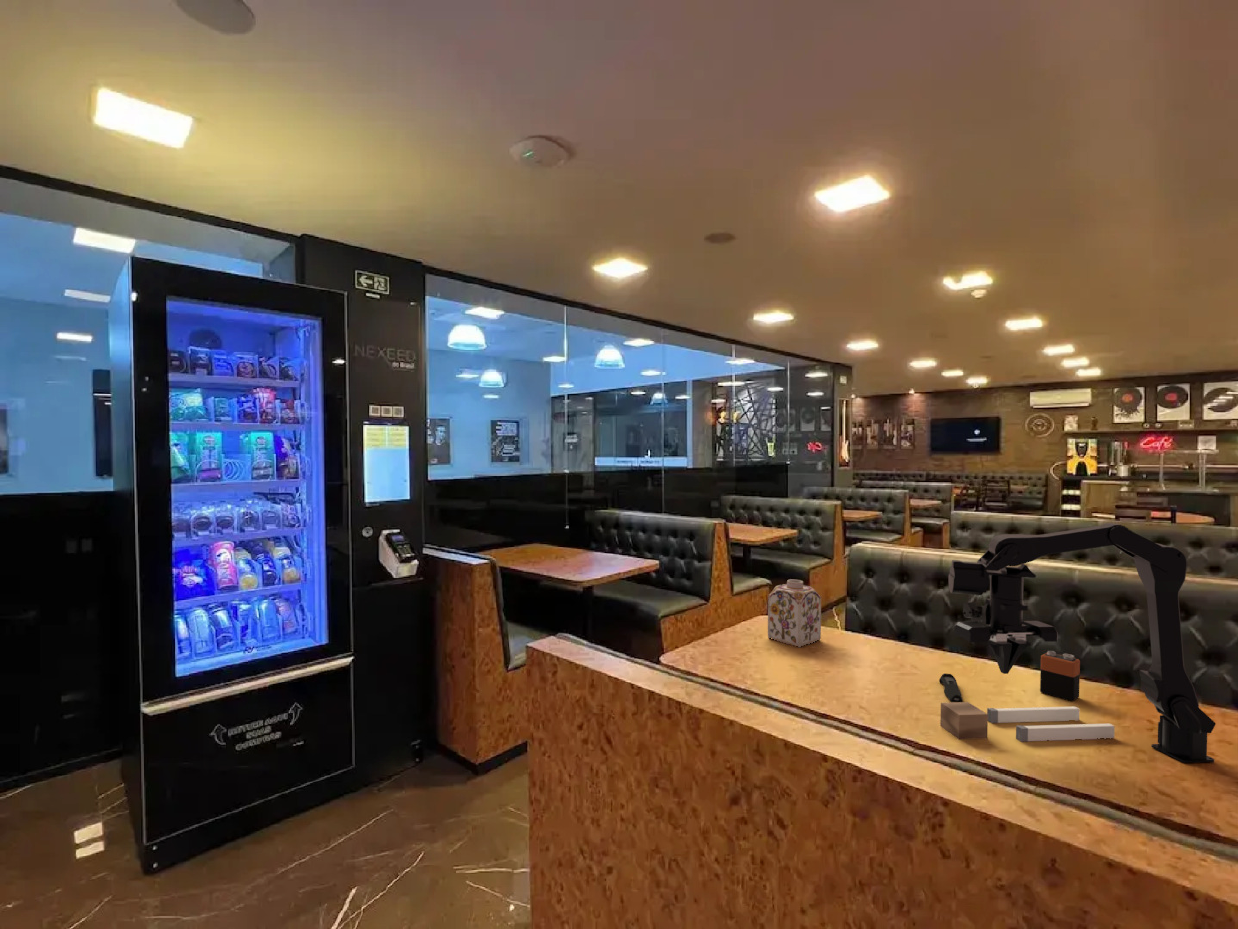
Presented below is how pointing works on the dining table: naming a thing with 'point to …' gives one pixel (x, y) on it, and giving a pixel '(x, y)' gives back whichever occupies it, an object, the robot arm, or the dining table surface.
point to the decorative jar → (794, 614)
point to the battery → (1060, 675)
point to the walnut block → (964, 720)
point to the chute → (1049, 730)
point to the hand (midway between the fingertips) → (1004, 673)
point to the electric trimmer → (951, 688)
